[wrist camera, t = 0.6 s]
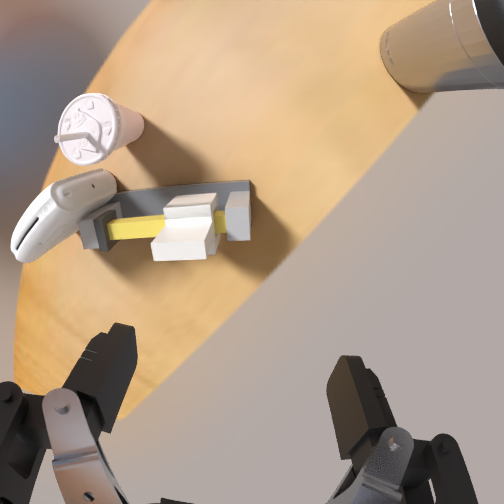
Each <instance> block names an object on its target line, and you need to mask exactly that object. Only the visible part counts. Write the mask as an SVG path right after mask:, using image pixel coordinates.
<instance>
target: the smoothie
mask: <svg viewBox="0 0 504 504" xmlns="http://www.w3.org/2000/svg"><path fill="white" fill-rule="evenodd" d="M143 130H144V120H143V117H142V116H141V115H140V114H139V113H138V112H136V111H134V110H131V109H129V108H126V107H124V106H122V105H119V104H117V103H115V102H114V101H113V100H112V99H111V98H109V97H108V96H107V95H104V94H100V93H87V94H83V95H81V96H79V97H77V98H75V99H74V100H73V101H72V102H70V103H69V105H68V106H67V107H66V109H65V110H64V112H63V114H62V116H61V119H60V122H59V126H58V135H56V136H55V138H54V141H55V142H56V143H58V142H59V145H60V148H61V150H62V152H63V154H64V155H65V156H66V158H67V159H68V160H70V161H71V162H73V163H74V164H77V165H81V166H86V165H92V164H96V163H99V162H101V161H103V160H104V159H106V158H107V157H108V156H109V155H110V154H111V153H112V152H113V151H115V150H117V149H119V148H121V147H123V146H125V145H127V144H129V143H131V142H133V141H135V140H137V139H138V138H139V137H140V136H141V134H142V133H143Z"/></svg>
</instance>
